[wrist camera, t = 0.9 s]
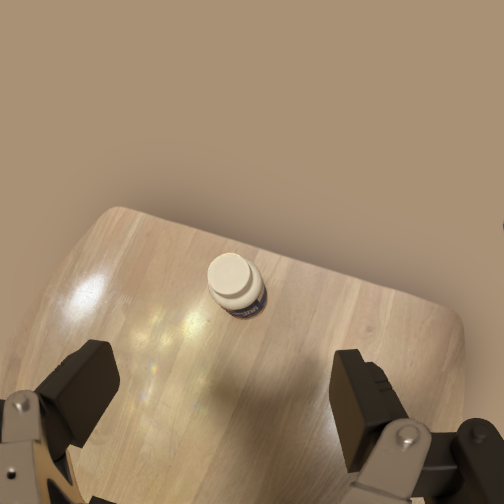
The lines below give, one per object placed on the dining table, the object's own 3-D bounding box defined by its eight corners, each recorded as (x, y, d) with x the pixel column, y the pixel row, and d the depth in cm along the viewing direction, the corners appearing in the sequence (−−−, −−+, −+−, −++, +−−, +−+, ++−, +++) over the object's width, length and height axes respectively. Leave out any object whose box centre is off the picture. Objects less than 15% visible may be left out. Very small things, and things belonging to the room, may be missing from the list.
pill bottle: (221, 318, 35) (195, 300, 26) (226, 276, 37) (203, 245, 28) (266, 321, 34) (255, 304, 25) (269, 277, 36) (260, 246, 27)
